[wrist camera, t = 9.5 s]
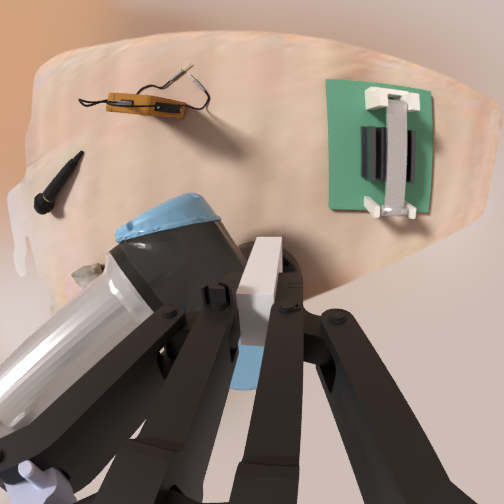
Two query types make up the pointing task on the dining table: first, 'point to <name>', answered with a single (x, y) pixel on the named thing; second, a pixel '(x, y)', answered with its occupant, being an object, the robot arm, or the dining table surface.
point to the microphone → (54, 187)
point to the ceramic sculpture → (87, 274)
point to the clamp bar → (395, 159)
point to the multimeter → (146, 103)
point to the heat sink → (383, 154)
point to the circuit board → (349, 143)
